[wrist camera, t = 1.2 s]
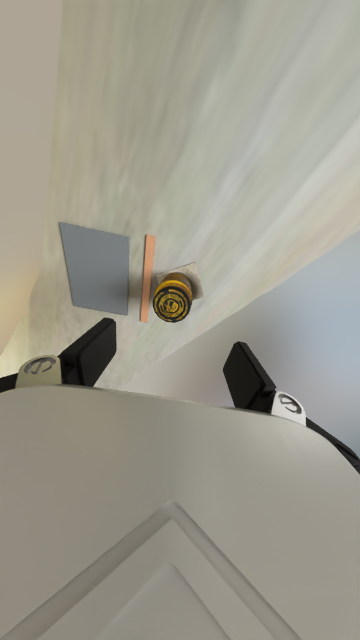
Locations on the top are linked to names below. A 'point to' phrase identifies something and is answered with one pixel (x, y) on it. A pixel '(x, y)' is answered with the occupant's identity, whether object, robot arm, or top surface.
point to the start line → (147, 276)
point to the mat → (97, 268)
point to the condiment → (176, 293)
